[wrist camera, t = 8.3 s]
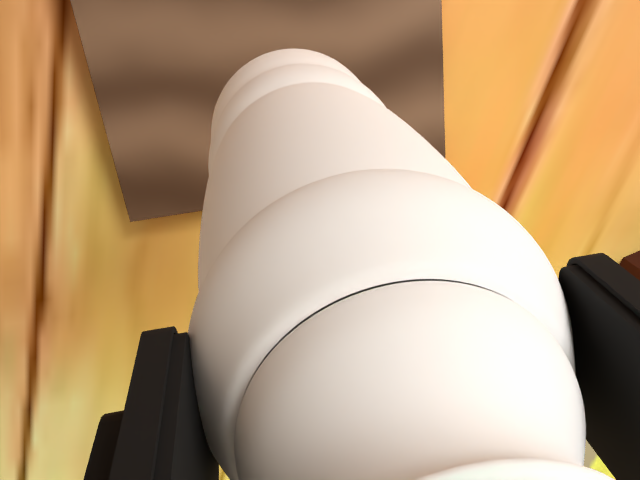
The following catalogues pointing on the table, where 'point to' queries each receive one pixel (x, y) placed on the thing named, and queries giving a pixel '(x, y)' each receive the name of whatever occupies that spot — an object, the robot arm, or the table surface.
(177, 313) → the table surface
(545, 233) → the table surface
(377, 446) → the water bottle
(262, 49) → the walnut board
